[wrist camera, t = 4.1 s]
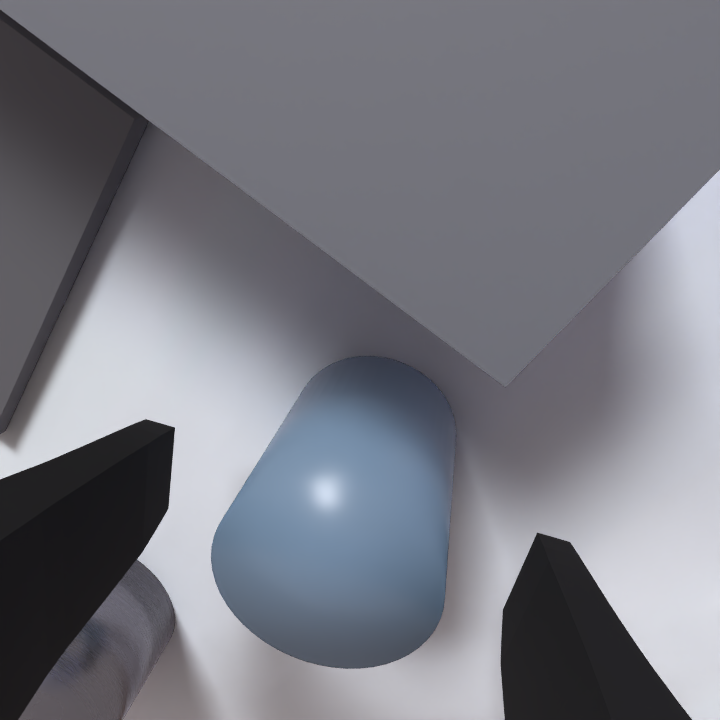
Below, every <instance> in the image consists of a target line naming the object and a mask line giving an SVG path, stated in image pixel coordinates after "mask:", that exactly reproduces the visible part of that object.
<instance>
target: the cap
mask: <svg viewBox="0 0 720 720" xmlns="http://www.w3.org/2000/svg"><path fill="white" fill-rule="evenodd" d="M174 626H175V614H174V609H173V605H172V602H171V600H170V598H169V595H168V593H167V592H166V590H165V588H164V587H163V585H162V584H161V583H160V581H159V580H158V579H157V577H156V576H155V575H154V574H153V573H152V572H151V571H150V570H149V569H148V568H147V567H145V566H144V565H143V564H142V563H141V562H139V561H138V560H136V561H135V562H134V564H133V565H132V566H131V568H130V569H129V570H128V571H127V573H126V574H125V575H124V577H123V578H122V579H121V580H120V582H119V583H118V584H117V586H116V587H115V588H114V589H113V591H112V592H111V593H110V594H109V596H108V597H107V598H106V600H105V601H104V602H103V603H102V605H101V606H100V607H99V608H98V610H97V611H96V612H95V613H94V615H93V616H92V617H91V619H90V620H89V621H88V622H87V624H86V625H85V626H84V627H83V629H82V630H81V631H80V632H79V634H78V635H77V636H76V638H75V639H74V640H73V641H72V643H71V644H70V645H69V646H68V648H67V649H66V650H65V652H64V653H63V654H62V656H61V657H60V658H59V660H58V661H57V663H56V664H55V665H54V667H53V668H52V669H51V671H50V672H49V673H48V675H47V676H46V678H45V680H44V681H43V683H42V684H41V686H40V687H39V689H38V690H37V692H36V693H35V695H34V696H33V698H32V700H31V701H30V703H29V704H28V706H27V707H26V709H25V710H24V712H23V713H22V715H21V716H20V718H19V719H18V720H123V719H124V717H125V715H126V713H127V712H128V710H129V708H130V707H131V705H132V703H133V701H134V700H135V698H136V696H137V695H138V693H139V691H140V689H141V688H142V686H143V684H144V683H145V681H146V679H147V677H148V676H149V674H150V672H151V671H152V669H153V667H154V665H155V664H156V662H157V660H158V659H159V657H160V655H161V653H162V652H163V650H164V648H165V646H166V645H167V643H168V641H169V640H170V638H171V636H172V633H173V631H174Z"/></svg>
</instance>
